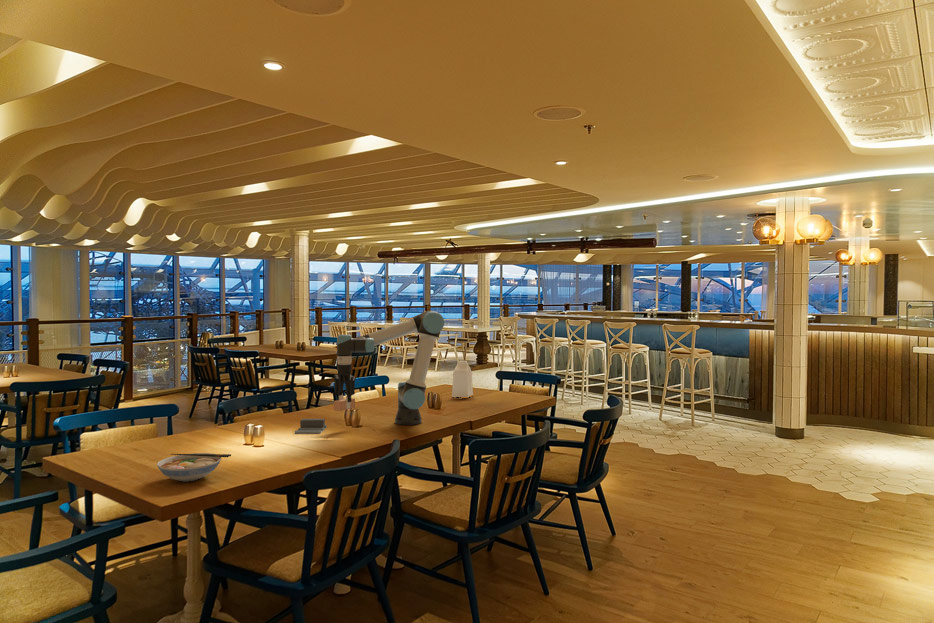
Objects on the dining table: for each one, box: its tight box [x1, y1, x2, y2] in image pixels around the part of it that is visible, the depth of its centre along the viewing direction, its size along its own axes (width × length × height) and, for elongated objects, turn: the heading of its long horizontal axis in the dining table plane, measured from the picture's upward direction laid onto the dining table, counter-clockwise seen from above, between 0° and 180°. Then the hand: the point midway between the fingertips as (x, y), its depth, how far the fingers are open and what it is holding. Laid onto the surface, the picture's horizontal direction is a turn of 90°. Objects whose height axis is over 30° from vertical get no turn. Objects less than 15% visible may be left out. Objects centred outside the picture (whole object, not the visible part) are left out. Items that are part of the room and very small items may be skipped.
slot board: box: [294, 424, 328, 435], centre depth 311 cm, size 13×16×2 cm
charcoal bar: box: [299, 418, 326, 429], centre depth 315 cm, size 12×4×5 cm, turn 91°
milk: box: [451, 360, 474, 398], centre depth 425 cm, size 12×12×26 cm
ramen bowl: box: [156, 452, 232, 483], centre depth 229 cm, size 25×23×8 cm
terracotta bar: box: [333, 397, 356, 412], centre depth 314 cm, size 12×4×5 cm, turn 151°
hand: (344, 407), depth 314 cm, fingers closed on terracotta bar, 4 cm apart
